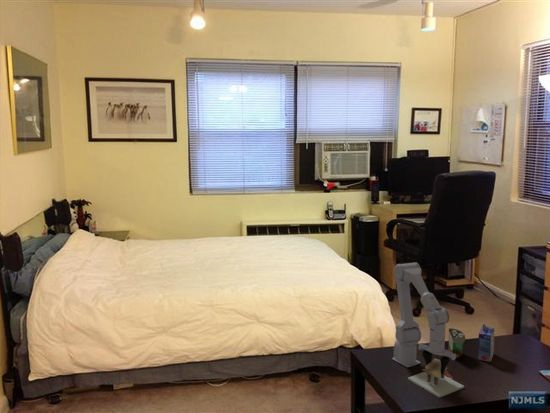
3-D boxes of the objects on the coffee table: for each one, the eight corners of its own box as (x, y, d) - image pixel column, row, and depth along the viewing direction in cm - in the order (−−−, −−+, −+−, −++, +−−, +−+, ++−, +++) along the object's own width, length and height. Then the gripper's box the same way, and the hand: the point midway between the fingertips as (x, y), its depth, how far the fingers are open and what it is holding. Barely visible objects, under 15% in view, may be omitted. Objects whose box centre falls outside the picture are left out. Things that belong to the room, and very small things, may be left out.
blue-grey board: (407, 379, 191) (407, 377, 191) (431, 370, 198) (432, 369, 198) (439, 397, 178) (439, 395, 177) (464, 387, 185) (464, 385, 184)
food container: (467, 361, 207) (468, 339, 205) (452, 359, 208) (453, 338, 207) (461, 348, 219) (462, 328, 217) (447, 347, 220) (448, 327, 219)
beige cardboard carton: (424, 381, 186) (425, 366, 185) (434, 373, 193) (435, 358, 192) (437, 386, 183) (437, 370, 182) (446, 377, 190) (447, 362, 189)
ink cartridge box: (480, 350, 217) (482, 320, 215) (493, 353, 214) (495, 323, 212) (477, 359, 208) (478, 328, 206) (490, 362, 205) (492, 330, 203)
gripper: (459, 340, 183) (457, 373, 185) (424, 331, 193) (422, 362, 195) (452, 346, 178) (450, 380, 180) (416, 336, 188) (415, 368, 190)
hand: (435, 371), depth 187 cm, fingers closed on beige cardboard carton, 5 cm apart
